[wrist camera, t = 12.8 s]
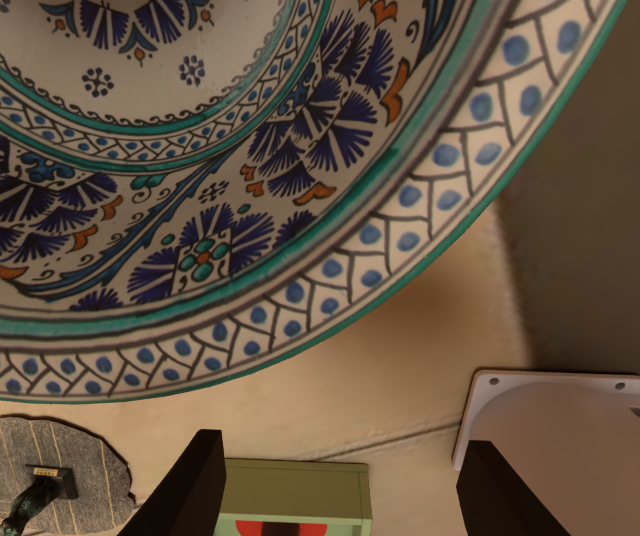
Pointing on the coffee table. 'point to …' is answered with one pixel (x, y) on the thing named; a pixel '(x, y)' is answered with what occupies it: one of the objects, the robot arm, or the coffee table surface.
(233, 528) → the open box
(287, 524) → the lid
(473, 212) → the bowl
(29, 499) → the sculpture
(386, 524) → the coffee table surface
